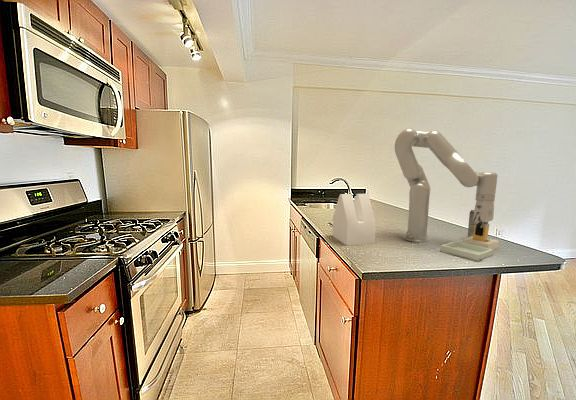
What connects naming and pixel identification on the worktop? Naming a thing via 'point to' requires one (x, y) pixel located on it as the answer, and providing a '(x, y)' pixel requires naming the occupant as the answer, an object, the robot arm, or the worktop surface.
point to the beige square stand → (482, 243)
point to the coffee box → (471, 224)
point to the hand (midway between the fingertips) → (480, 234)
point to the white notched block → (354, 220)
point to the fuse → (485, 233)
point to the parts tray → (466, 250)
